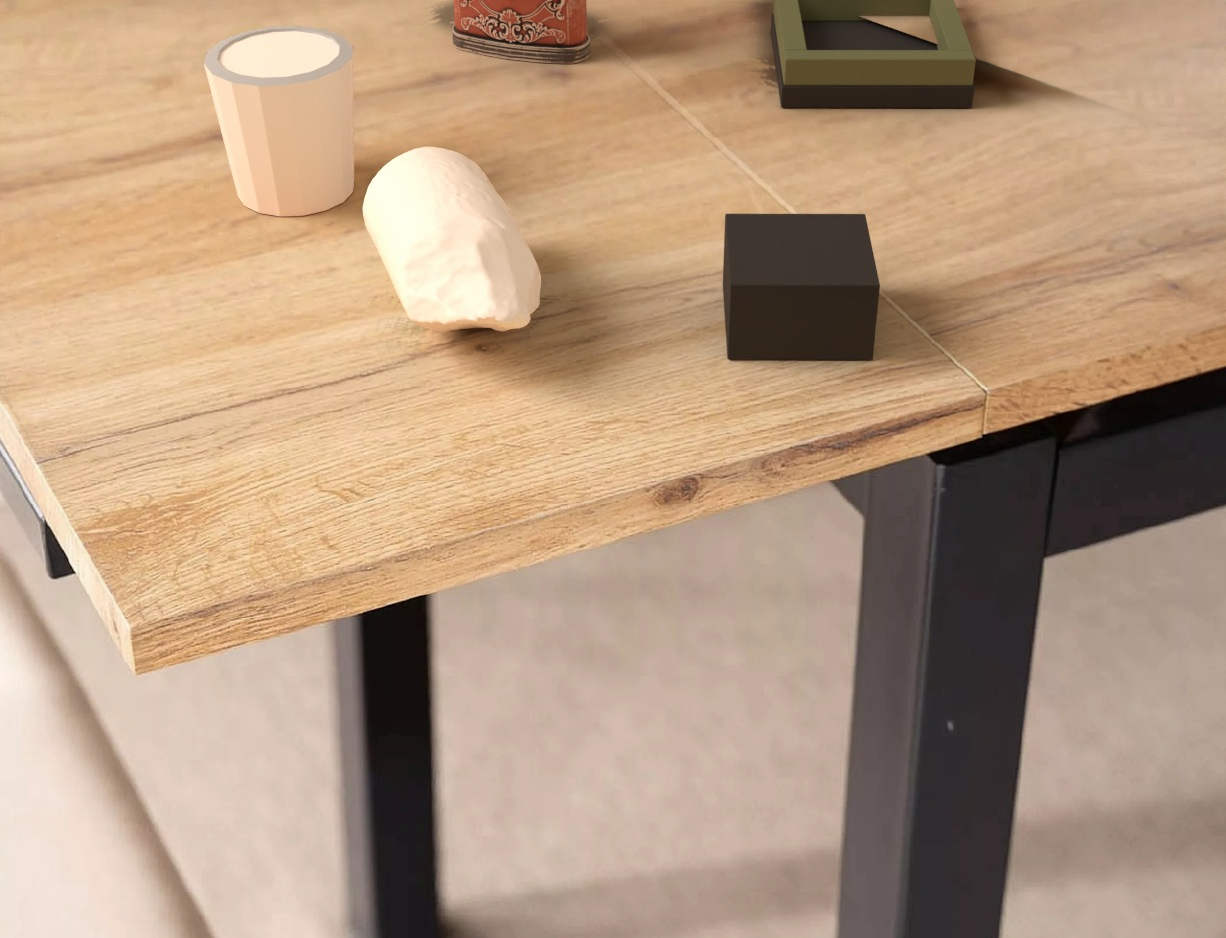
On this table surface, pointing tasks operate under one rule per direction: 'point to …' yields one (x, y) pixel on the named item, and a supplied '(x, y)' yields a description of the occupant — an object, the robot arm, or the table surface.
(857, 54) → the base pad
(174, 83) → the table surface
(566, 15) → the red decorated tin
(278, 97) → the peach cup
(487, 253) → the roll
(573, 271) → the table surface
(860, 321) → the black block
